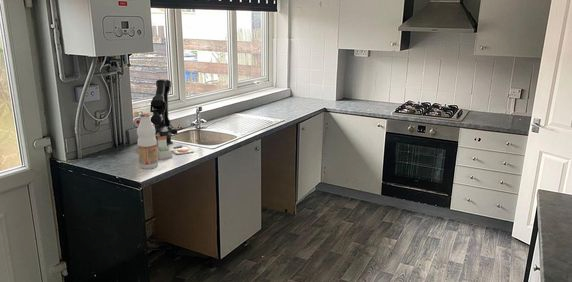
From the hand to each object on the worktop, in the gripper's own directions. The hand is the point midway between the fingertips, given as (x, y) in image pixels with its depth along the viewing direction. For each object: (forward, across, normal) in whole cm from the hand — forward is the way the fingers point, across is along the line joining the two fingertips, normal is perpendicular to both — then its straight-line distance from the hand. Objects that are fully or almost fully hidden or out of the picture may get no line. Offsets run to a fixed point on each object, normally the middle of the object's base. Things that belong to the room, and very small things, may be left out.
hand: (161, 147), depth 248 cm
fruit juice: (+3, -14, -21) cm, 26 cm away
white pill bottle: (+3, 0, 0) cm, 3 cm away
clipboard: (+3, +10, -4) cm, 12 cm away
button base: (+3, -2, -10) cm, 10 cm away
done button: (0, -2, -10) cm, 10 cm away
